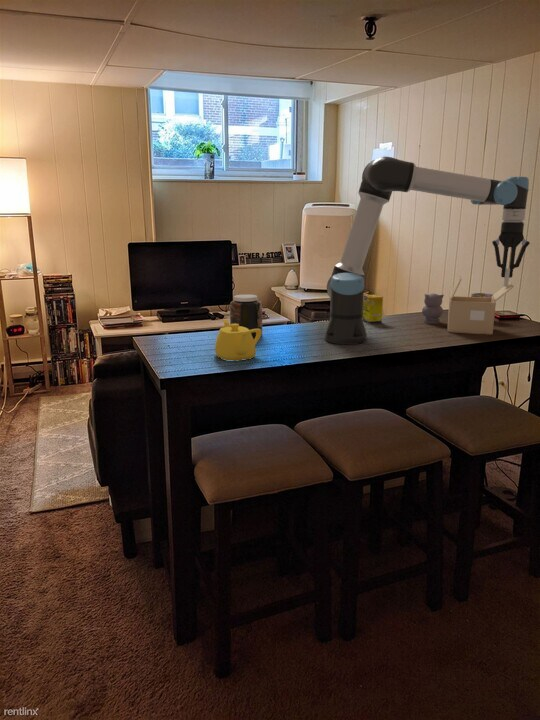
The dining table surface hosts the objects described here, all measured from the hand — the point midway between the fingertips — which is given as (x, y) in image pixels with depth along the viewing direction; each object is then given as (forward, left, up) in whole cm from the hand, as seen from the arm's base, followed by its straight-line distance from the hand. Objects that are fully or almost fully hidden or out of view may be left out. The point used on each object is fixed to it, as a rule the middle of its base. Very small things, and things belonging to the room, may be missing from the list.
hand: (505, 286), depth 207 cm
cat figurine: (-25, +11, -18) cm, 33 cm away
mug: (-6, +23, -18) cm, 30 cm away
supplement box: (-49, +6, -18) cm, 53 cm away
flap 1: (-17, 0, -1) cm, 18 cm away
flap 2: (-1, 0, -2) cm, 2 cm away
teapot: (-85, -59, -18) cm, 105 cm away
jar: (-92, -31, -18) cm, 99 cm away
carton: (-11, 0, -18) cm, 21 cm away
